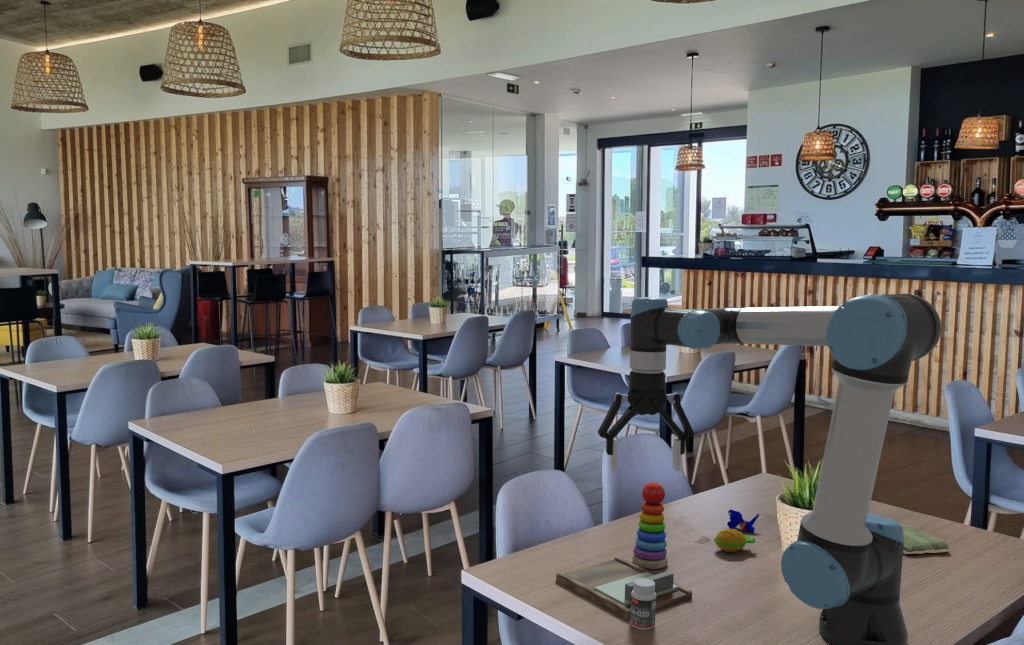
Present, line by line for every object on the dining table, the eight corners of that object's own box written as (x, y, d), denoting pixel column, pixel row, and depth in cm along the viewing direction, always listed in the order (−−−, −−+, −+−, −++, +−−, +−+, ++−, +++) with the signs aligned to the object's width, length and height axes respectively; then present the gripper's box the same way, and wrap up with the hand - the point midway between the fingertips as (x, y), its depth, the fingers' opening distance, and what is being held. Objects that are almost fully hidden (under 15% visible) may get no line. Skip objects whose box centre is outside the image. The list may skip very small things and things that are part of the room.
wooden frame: (691, 598, 167) (692, 590, 167) (627, 619, 156) (627, 611, 156) (618, 563, 185) (618, 556, 185) (555, 580, 174) (556, 573, 174)
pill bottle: (626, 626, 154) (627, 583, 153) (634, 617, 158) (636, 575, 157) (650, 632, 151) (652, 589, 151) (658, 622, 156) (660, 580, 155)
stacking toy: (667, 572, 180) (670, 489, 179) (631, 568, 182) (634, 486, 180) (667, 559, 188) (671, 479, 186) (633, 555, 190) (635, 476, 188)
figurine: (728, 524, 213) (729, 506, 213) (758, 530, 209) (759, 512, 209) (724, 530, 209) (725, 511, 208) (754, 535, 205) (755, 517, 205)
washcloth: (903, 530, 213) (903, 518, 212) (952, 555, 195) (953, 542, 195) (858, 533, 210) (858, 521, 210) (904, 558, 193) (904, 545, 192)
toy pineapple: (707, 548, 196) (708, 526, 195) (742, 543, 199) (743, 522, 199) (724, 558, 189) (725, 536, 189) (760, 553, 193) (761, 531, 192)
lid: (678, 589, 168) (678, 572, 168) (624, 606, 159) (625, 588, 159) (646, 574, 175) (647, 558, 175) (593, 590, 166) (594, 573, 166)
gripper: (699, 368, 177) (696, 464, 178) (585, 368, 174) (583, 465, 176) (711, 373, 169) (707, 473, 171) (592, 372, 167) (590, 474, 169)
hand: (644, 469), depth 173 cm, fingers open, 13 cm apart
